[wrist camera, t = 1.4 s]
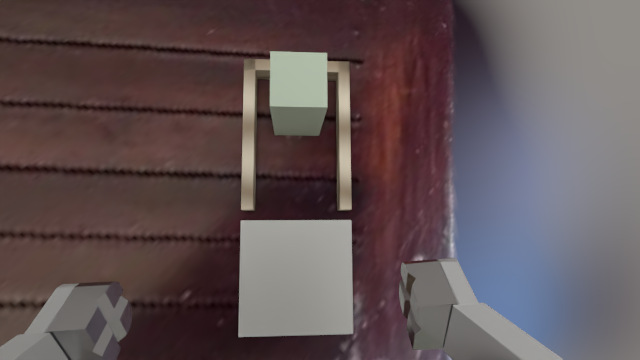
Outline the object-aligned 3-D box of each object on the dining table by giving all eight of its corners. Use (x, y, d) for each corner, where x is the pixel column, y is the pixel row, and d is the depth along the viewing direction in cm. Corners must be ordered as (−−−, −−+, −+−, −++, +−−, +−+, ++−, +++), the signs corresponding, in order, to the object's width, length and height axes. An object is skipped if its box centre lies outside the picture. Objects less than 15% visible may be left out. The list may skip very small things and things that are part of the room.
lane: (348, 210, 42) (351, 209, 39) (244, 210, 41) (240, 209, 39) (345, 71, 44) (349, 61, 41) (246, 68, 43) (244, 58, 41)
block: (319, 135, 43) (327, 107, 33) (274, 135, 42) (269, 106, 32) (318, 93, 43) (326, 53, 34) (275, 92, 43) (270, 51, 33)
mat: (352, 333, 40) (353, 334, 40) (238, 336, 39) (238, 337, 39) (350, 220, 42) (351, 219, 41) (241, 220, 41) (240, 220, 41)
